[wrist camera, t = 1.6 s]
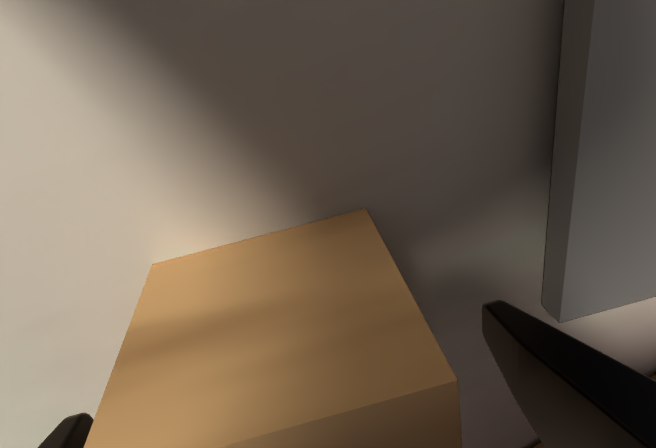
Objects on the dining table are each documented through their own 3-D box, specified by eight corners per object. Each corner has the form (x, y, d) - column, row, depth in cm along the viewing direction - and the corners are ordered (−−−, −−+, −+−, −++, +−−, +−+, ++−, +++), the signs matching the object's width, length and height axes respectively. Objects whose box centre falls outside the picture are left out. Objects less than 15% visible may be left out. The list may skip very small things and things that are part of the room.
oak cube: (391, 353, 12) (469, 553, 8) (225, 399, 12) (209, 631, 8) (364, 206, 10) (457, 380, 5) (152, 262, 9) (68, 489, 5)
